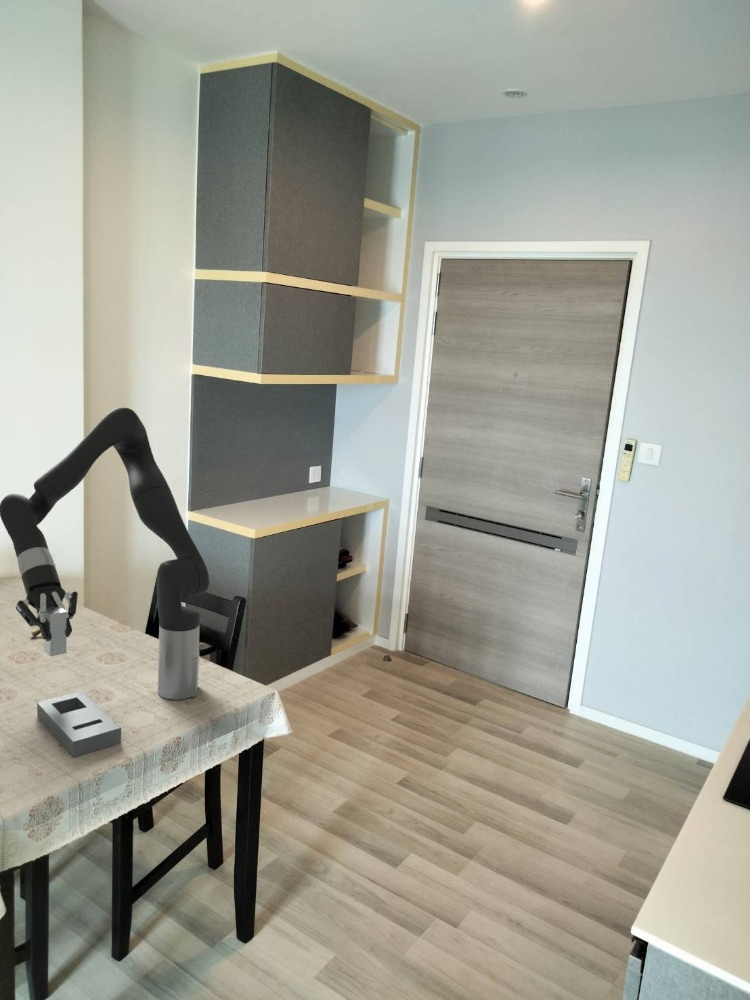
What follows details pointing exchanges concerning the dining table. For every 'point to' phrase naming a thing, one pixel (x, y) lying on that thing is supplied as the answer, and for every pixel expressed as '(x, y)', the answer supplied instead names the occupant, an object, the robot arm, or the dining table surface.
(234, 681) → the dining table surface
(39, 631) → the brown lamp post
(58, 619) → the grey square peg
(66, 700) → the holder
